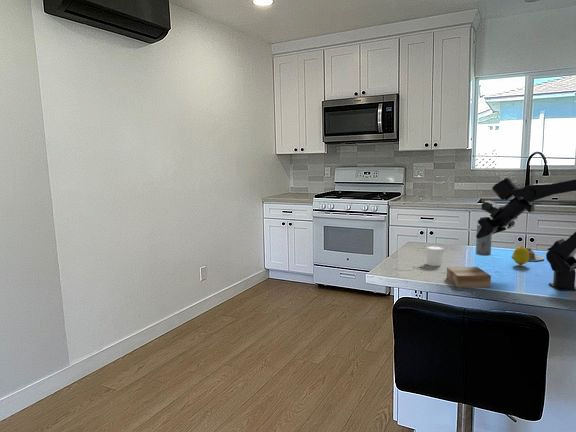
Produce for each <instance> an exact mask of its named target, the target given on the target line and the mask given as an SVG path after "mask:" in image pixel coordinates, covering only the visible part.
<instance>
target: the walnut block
mask: <svg viewBox="0 0 576 432" xmlns="http://www.w3.org/2000/svg"><path fill="white" fill-rule="evenodd" d="M446 279H447V280H448V281H450V283H452V284H453V285H454V286H455V287H457V288H491V282H492V281H491V279H492V276H491V274H489V273H488V272H486V271H485V270H484V269H481V267H480V268H479V266H461V267H460V266H455V267H454V266H452V267H446Z"/></svg>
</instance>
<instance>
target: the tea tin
mask: <svg viewBox="0 0 576 432" xmlns="http://www.w3.org/2000/svg"><path fill="white" fill-rule="evenodd" d="M480 229H481V226H480V224H479V223H478V220H477V221H476V235H477V234H478V232H479V231H480ZM492 235H493V234H491V235H487V236H484V237H481V238H477V237H476V236H475V237H476V239H475V240H476V241H475V242H476V243H475V245H476V246H475V255H478V256H483V257H484V256H485V257H487V256H491V255H492Z"/></svg>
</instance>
